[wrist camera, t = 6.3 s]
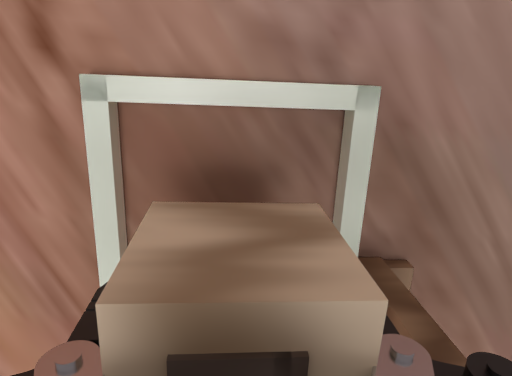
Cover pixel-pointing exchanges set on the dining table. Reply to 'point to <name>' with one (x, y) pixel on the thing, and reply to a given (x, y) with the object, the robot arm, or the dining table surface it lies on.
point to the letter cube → (239, 295)
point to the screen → (410, 309)
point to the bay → (222, 94)
